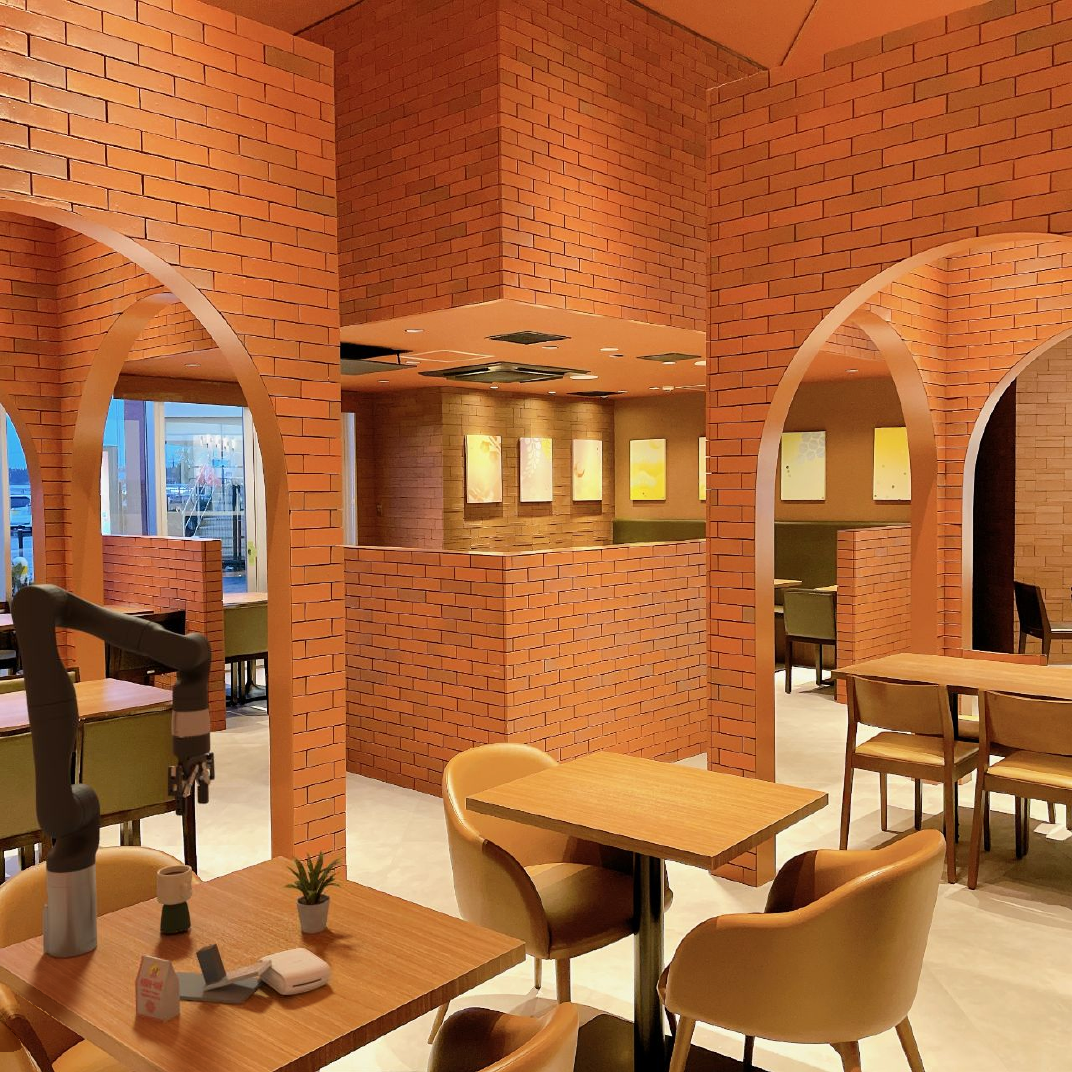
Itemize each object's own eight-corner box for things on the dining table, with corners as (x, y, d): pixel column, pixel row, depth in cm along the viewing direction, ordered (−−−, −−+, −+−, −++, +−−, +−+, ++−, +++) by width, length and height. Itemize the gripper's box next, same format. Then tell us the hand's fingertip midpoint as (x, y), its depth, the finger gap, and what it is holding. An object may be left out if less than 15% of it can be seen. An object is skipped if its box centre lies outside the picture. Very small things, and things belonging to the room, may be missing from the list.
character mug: (203, 932, 215) (202, 871, 215) (171, 942, 210) (170, 880, 209) (179, 919, 222) (178, 860, 222) (148, 928, 217) (146, 868, 217)
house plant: (351, 939, 210) (350, 861, 210) (283, 947, 206) (281, 868, 206) (347, 914, 224) (346, 840, 223) (283, 921, 220) (281, 846, 220)
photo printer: (305, 944, 198) (335, 964, 189) (304, 966, 198) (335, 987, 188) (255, 956, 192) (284, 978, 182) (255, 979, 191) (284, 1002, 182)
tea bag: (152, 1005, 182) (151, 950, 182) (179, 1013, 179) (178, 957, 179) (135, 1014, 179) (134, 958, 179) (163, 1022, 176) (162, 965, 176)
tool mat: (150, 996, 186) (150, 993, 186) (177, 974, 195) (177, 971, 195) (241, 1004, 182) (241, 1000, 182) (263, 981, 191) (263, 978, 191)
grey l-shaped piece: (203, 991, 186) (191, 955, 187) (217, 979, 191) (206, 944, 191) (259, 975, 184) (247, 939, 184) (272, 963, 188) (260, 928, 189)
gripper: (192, 723, 216) (194, 799, 216) (154, 737, 202) (156, 818, 202) (224, 724, 214) (226, 800, 214) (189, 738, 200) (190, 820, 200)
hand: (192, 809), depth 208 cm, fingers open, 8 cm apart
